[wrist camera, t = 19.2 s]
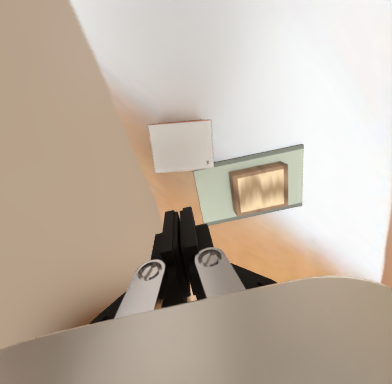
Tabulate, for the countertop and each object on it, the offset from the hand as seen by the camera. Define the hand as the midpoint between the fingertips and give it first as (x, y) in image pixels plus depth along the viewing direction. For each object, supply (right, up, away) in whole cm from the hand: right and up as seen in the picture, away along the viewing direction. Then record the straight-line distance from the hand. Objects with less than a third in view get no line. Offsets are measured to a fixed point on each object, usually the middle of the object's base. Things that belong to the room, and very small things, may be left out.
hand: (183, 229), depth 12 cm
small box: (-2, +13, +24) cm, 28 cm away
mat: (+13, +3, +29) cm, 32 cm away
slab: (+8, +2, +27) cm, 28 cm away
